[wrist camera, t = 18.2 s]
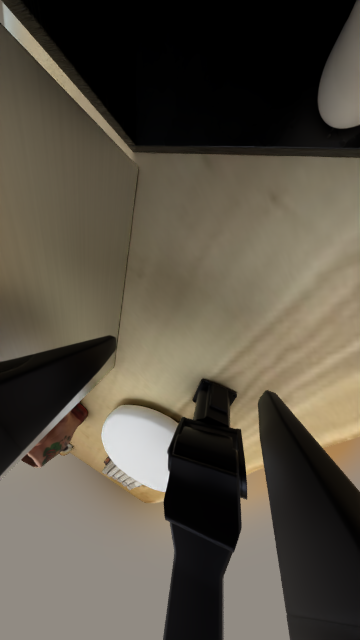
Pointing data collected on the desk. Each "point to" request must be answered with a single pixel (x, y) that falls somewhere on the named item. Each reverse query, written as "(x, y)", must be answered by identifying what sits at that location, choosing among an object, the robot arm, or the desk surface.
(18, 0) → the microwave
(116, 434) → the white round disc
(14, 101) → the microwave door
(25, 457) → the sculpted ceramic mug
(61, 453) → the pastry
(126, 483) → the mechanical keyboard
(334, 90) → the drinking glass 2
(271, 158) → the desk surface
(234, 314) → the desk surface
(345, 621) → the robot arm
